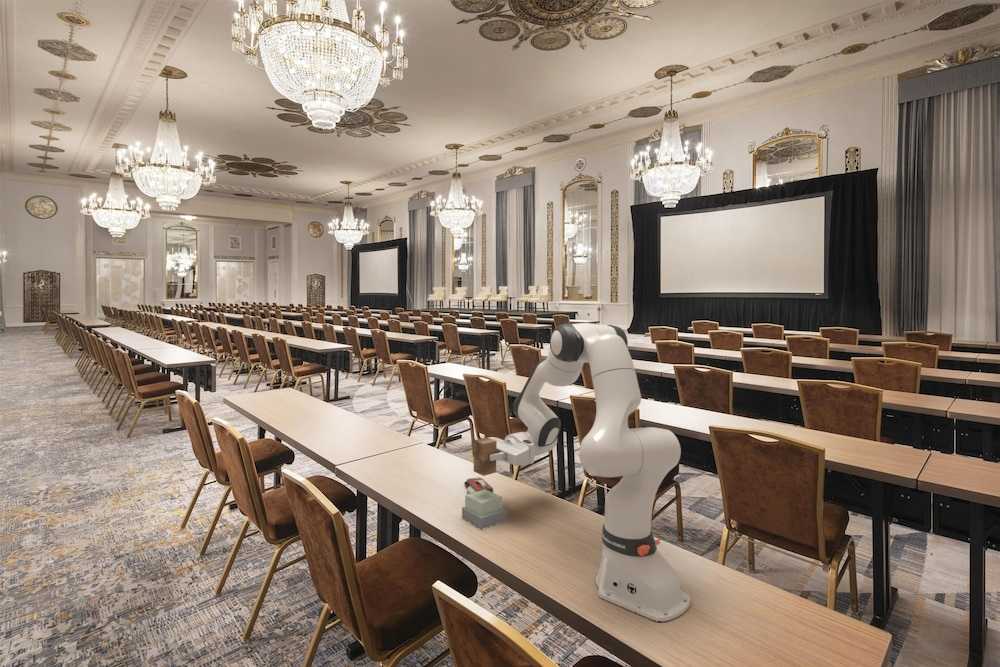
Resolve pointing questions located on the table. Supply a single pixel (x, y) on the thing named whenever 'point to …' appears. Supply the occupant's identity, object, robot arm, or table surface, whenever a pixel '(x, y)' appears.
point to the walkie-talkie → (477, 485)
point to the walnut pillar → (484, 456)
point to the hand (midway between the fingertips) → (482, 455)
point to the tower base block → (484, 517)
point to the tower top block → (483, 502)
